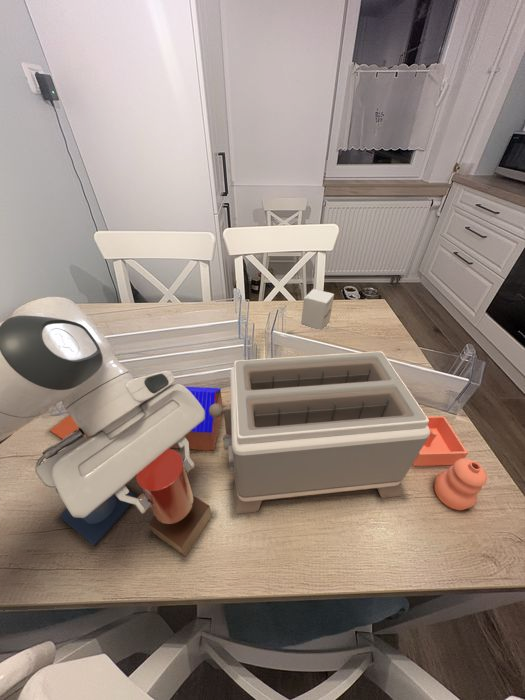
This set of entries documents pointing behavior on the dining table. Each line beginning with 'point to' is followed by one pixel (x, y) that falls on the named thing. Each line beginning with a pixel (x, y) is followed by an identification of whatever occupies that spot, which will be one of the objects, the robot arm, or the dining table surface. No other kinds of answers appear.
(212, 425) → the house
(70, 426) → the red mat
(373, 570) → the dining table surface
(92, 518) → the blue canister
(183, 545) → the riser
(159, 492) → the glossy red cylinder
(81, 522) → the blue mat
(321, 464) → the toaster
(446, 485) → the pottery
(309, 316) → the white packaging box
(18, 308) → the robot arm
